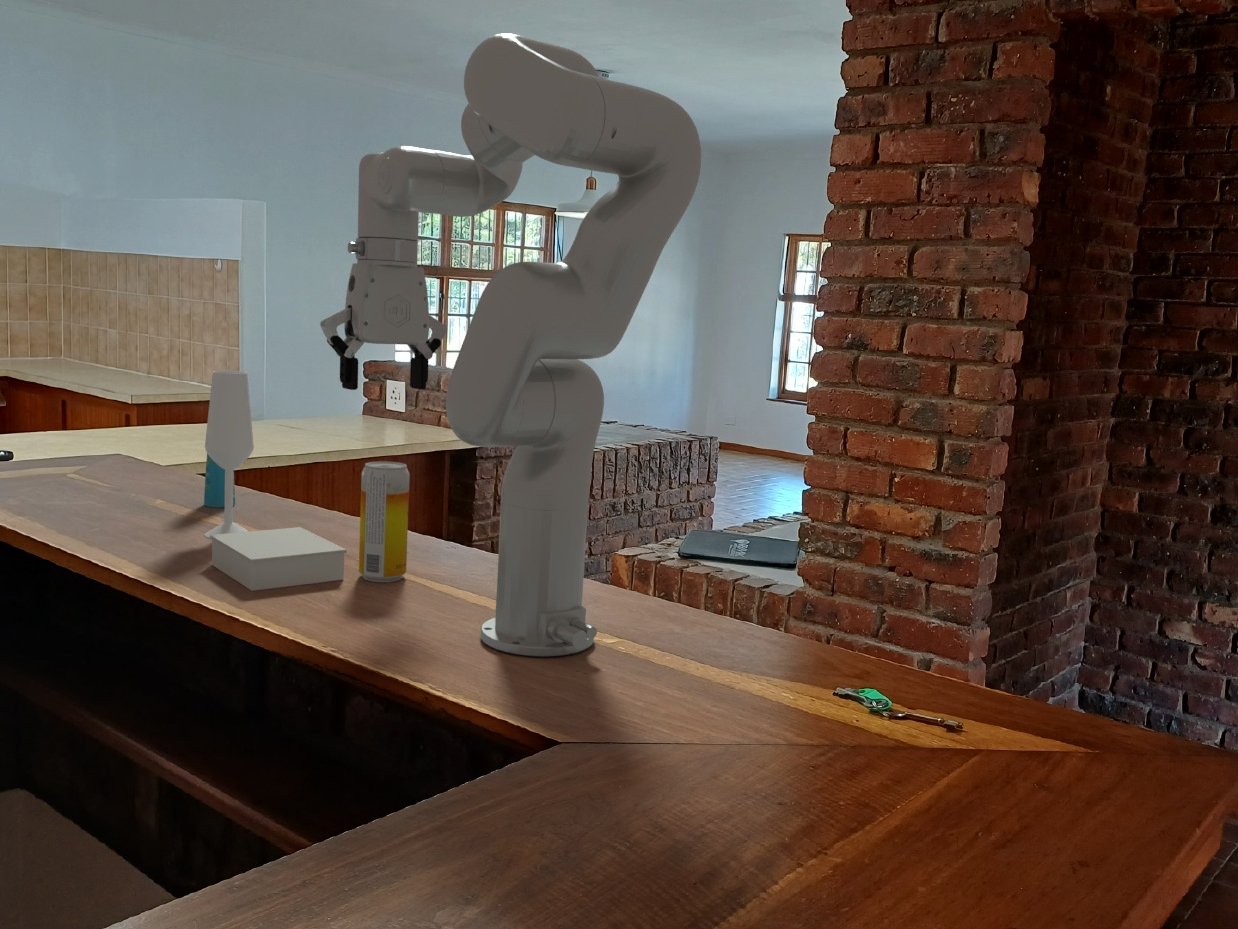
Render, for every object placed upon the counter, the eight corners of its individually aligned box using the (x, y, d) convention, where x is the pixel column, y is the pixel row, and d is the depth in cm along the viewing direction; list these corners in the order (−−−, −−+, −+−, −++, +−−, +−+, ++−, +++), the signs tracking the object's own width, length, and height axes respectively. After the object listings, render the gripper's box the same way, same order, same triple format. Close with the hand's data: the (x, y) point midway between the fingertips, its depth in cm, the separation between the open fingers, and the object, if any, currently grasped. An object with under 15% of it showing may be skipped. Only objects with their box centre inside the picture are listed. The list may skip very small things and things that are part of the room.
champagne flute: (202, 539, 157) (203, 372, 153) (206, 529, 163) (207, 369, 159) (251, 539, 158) (253, 375, 155) (253, 529, 165) (255, 371, 161)
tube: (201, 501, 183) (201, 387, 180) (231, 500, 185) (232, 387, 182) (207, 510, 176) (208, 391, 173) (238, 509, 178) (240, 392, 176)
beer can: (411, 573, 146) (415, 463, 143) (397, 585, 140) (401, 470, 137) (367, 569, 146) (370, 459, 144) (352, 581, 140) (355, 466, 138)
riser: (345, 579, 141) (346, 549, 140) (251, 591, 133) (251, 559, 132) (299, 555, 151) (300, 527, 151) (209, 564, 144) (210, 535, 143)
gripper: (336, 249, 130) (334, 391, 133) (461, 259, 141) (457, 391, 144) (310, 249, 136) (308, 386, 138) (433, 259, 147) (429, 386, 149)
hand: (384, 388), depth 141 cm, fingers open, 9 cm apart
